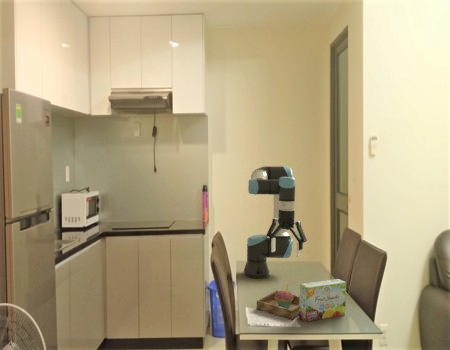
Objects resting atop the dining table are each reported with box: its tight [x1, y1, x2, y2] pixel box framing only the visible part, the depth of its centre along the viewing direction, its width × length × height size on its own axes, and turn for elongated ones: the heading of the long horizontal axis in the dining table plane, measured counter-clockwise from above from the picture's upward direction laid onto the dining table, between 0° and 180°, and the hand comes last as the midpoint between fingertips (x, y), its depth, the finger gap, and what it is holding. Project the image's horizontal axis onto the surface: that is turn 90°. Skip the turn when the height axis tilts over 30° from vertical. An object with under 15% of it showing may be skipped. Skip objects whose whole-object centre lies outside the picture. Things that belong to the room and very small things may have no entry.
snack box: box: [298, 278, 347, 323], centre depth 164 cm, size 21×6×15 cm, turn 114°
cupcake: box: [275, 282, 294, 308], centre depth 172 cm, size 9×8×12 cm
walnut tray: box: [256, 290, 300, 321], centre depth 173 cm, size 18×18×4 cm
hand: (285, 254), depth 179 cm, fingers open, 13 cm apart
